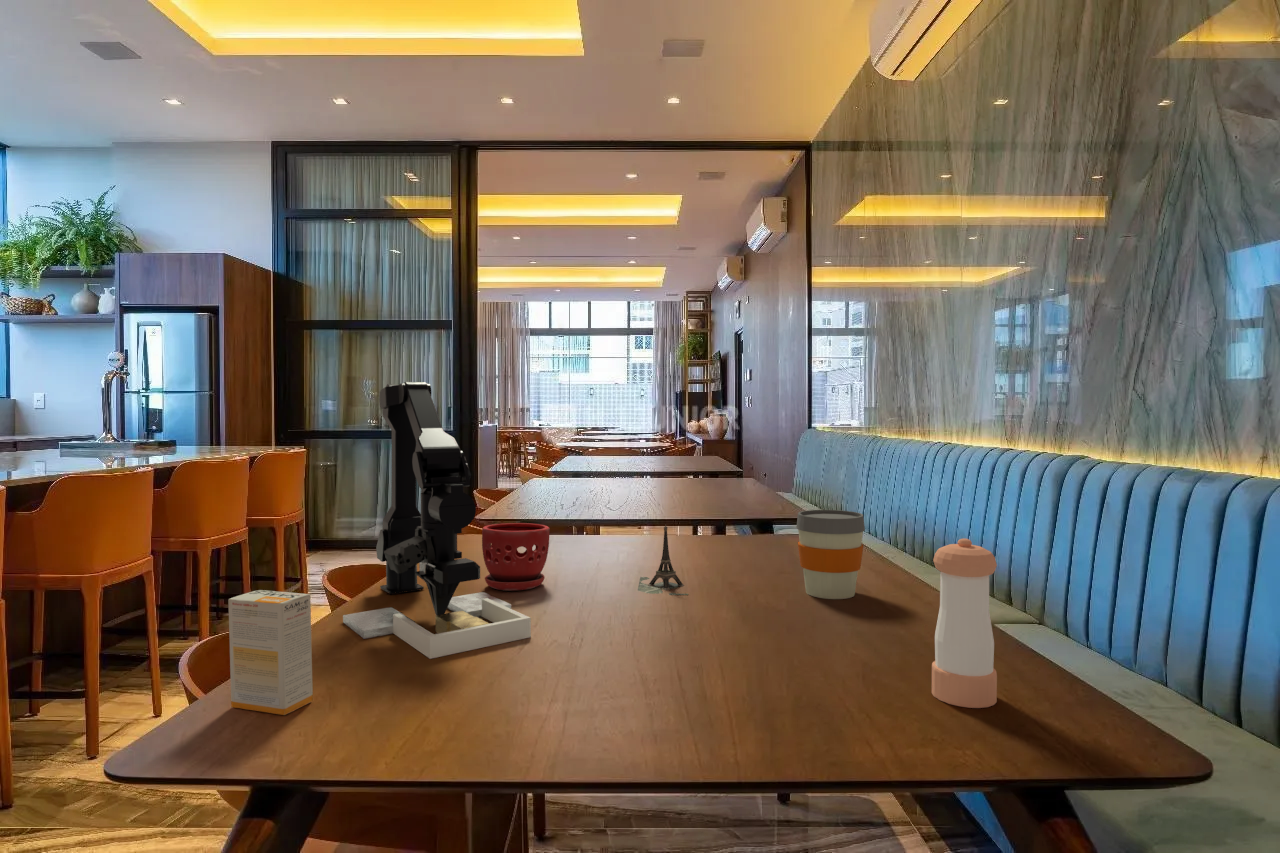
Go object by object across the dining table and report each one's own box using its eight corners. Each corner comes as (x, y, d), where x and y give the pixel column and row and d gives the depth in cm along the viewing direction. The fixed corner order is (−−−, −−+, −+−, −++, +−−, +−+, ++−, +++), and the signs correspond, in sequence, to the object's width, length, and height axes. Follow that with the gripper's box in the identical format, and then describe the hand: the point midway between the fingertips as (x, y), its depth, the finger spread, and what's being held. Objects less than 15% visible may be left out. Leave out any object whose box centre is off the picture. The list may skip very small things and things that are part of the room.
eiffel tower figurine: (639, 579, 155) (639, 515, 154) (688, 579, 154) (687, 515, 154) (636, 597, 140) (636, 527, 139) (690, 597, 139) (690, 527, 139)
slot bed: (343, 622, 122) (343, 615, 122) (483, 598, 137) (483, 591, 137) (364, 638, 113) (363, 630, 113) (511, 611, 128) (511, 604, 128)
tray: (393, 633, 116) (393, 614, 116) (487, 615, 126) (487, 598, 126) (430, 658, 104) (429, 637, 104) (530, 637, 114) (530, 617, 114)
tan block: (435, 633, 117) (435, 615, 117) (462, 627, 120) (462, 610, 120) (447, 640, 113) (446, 621, 113) (474, 634, 116) (474, 616, 116)
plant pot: (544, 594, 140) (544, 531, 140) (475, 594, 141) (475, 531, 140) (553, 578, 153) (553, 520, 153) (490, 578, 154) (489, 520, 153)
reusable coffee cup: (872, 590, 142) (873, 512, 142) (853, 605, 132) (853, 520, 131) (809, 582, 149) (809, 507, 149) (786, 595, 138) (786, 515, 138)
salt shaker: (992, 713, 85) (994, 546, 84) (925, 700, 89) (926, 540, 88) (1000, 692, 91) (1001, 537, 91) (937, 681, 95) (938, 532, 95)
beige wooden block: (448, 639, 114) (448, 621, 113) (476, 634, 116) (475, 616, 116) (461, 647, 110) (460, 628, 110) (488, 641, 113) (488, 623, 113)
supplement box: (315, 701, 89) (313, 593, 89) (283, 717, 85) (282, 603, 84) (261, 693, 92) (259, 587, 91) (228, 707, 87) (226, 597, 87)
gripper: (370, 518, 124) (371, 611, 124) (411, 533, 109) (412, 639, 109) (435, 512, 131) (435, 600, 131) (481, 526, 116) (482, 625, 116)
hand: (439, 615), depth 122 cm, fingers closed
